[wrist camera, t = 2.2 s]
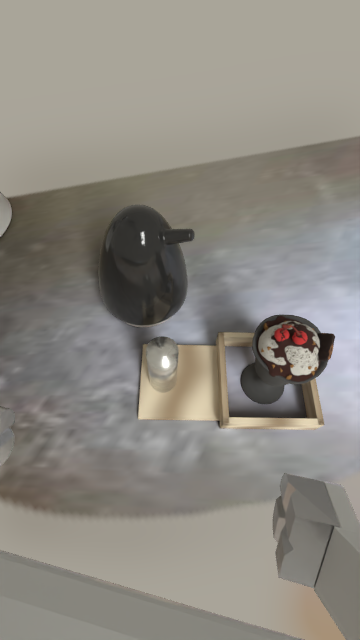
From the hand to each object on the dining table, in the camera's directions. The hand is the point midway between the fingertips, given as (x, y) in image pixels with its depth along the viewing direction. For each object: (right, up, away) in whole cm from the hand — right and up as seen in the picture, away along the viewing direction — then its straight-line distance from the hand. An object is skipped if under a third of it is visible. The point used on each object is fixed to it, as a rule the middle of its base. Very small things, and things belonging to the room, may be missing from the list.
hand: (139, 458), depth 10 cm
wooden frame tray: (+6, -3, +28) cm, 29 cm away
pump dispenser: (-3, +6, +33) cm, 34 cm away
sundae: (+11, -3, +29) cm, 31 cm away
